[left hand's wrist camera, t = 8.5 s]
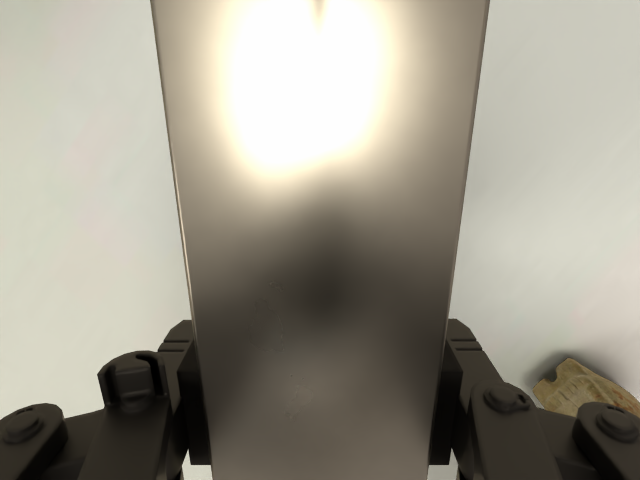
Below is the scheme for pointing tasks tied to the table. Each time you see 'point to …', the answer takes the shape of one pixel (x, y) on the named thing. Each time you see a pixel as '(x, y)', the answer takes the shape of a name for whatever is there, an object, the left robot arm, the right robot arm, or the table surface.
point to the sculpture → (581, 390)
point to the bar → (319, 221)
